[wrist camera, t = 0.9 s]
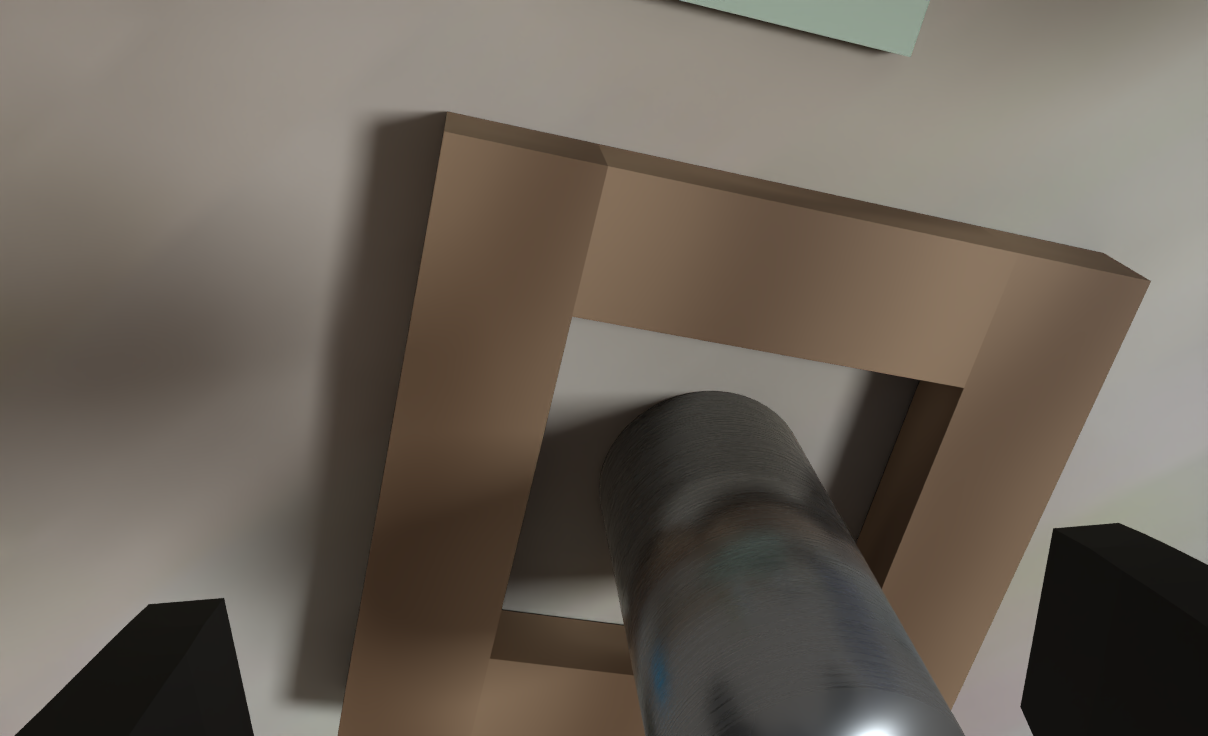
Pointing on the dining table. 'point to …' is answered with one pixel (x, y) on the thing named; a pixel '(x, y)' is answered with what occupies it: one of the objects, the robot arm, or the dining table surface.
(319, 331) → the dining table surface
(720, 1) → the sage V-block
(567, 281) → the brown square frame
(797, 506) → the metal axle
